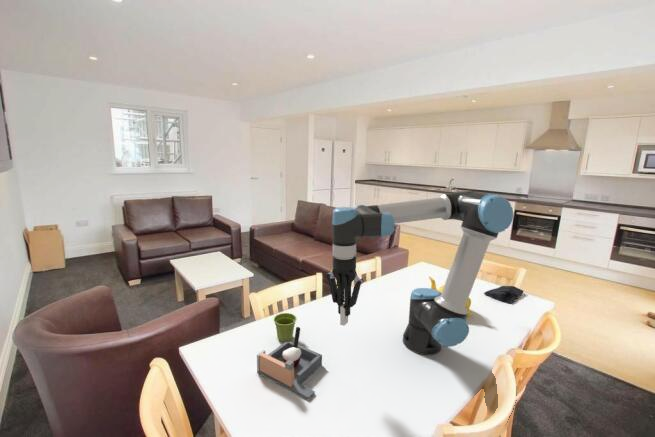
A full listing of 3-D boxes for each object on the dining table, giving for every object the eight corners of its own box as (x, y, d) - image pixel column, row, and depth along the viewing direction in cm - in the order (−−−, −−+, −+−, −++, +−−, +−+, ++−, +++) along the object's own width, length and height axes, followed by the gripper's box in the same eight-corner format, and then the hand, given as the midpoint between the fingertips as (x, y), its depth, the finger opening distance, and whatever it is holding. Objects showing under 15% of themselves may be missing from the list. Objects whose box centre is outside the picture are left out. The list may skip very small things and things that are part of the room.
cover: (294, 383, 102) (294, 362, 100) (290, 387, 100) (290, 365, 98) (263, 367, 109) (263, 347, 107) (259, 370, 107) (258, 350, 106)
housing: (335, 371, 110) (336, 353, 109) (308, 400, 96) (308, 380, 95) (287, 349, 122) (287, 333, 120) (257, 372, 108) (256, 354, 107)
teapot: (415, 303, 163) (418, 279, 160) (437, 296, 172) (440, 272, 170) (458, 325, 142) (462, 297, 140) (480, 315, 152) (484, 289, 149)
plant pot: (300, 334, 132) (300, 315, 130) (290, 346, 123) (290, 326, 122) (280, 329, 135) (280, 311, 133) (269, 341, 126) (269, 322, 125)
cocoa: (287, 375, 106) (286, 345, 103) (276, 365, 111) (275, 336, 108) (308, 362, 113) (308, 333, 110) (297, 353, 117) (297, 325, 114)
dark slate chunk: (528, 296, 176) (529, 288, 175) (509, 305, 164) (510, 297, 163) (500, 286, 189) (501, 279, 188) (481, 295, 176) (482, 287, 175)
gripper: (368, 256, 99) (366, 323, 104) (332, 249, 106) (333, 313, 111) (357, 263, 93) (356, 334, 98) (320, 255, 100) (321, 323, 105)
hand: (344, 323), depth 104 cm, fingers closed
